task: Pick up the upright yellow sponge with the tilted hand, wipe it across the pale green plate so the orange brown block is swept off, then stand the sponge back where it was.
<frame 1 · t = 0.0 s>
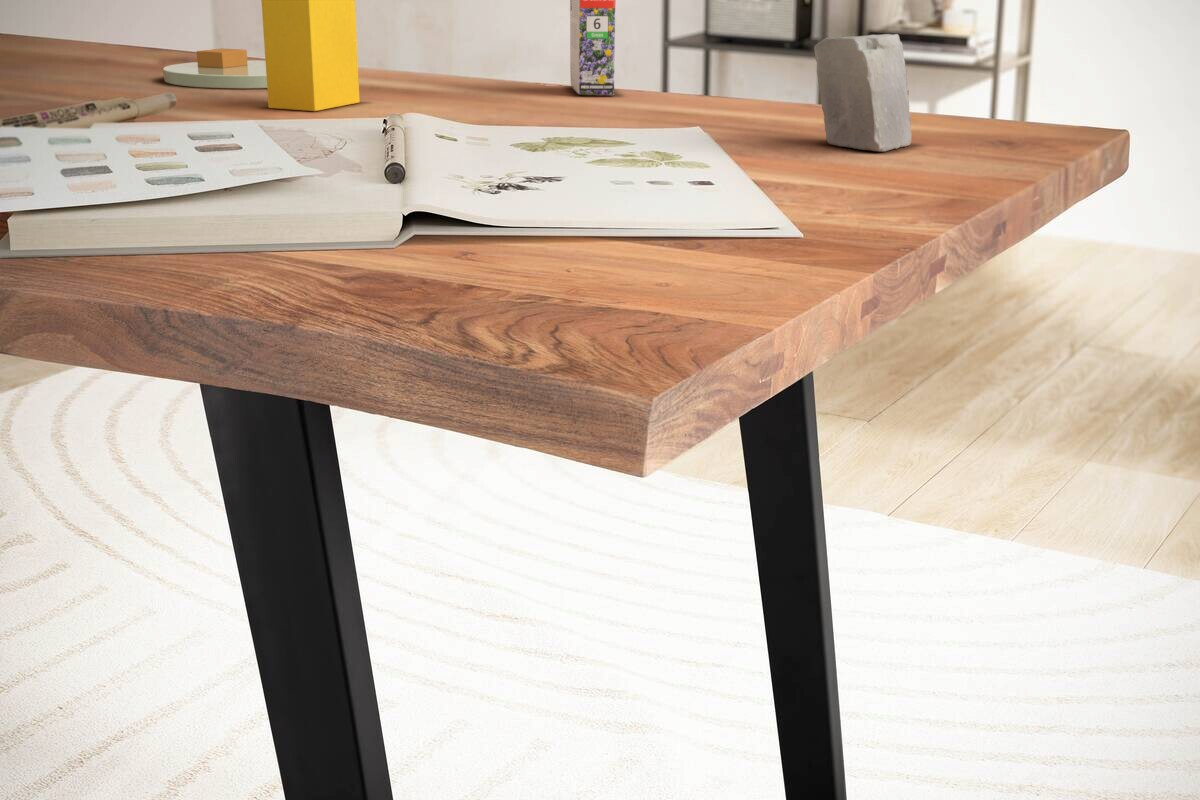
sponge: (315, 105, 108), on the table
ink box: (591, 93, 122), on the table
plate: (249, 80, 126), on the table
mineral specimen: (856, 146, 93), on the table
orange brown block: (222, 65, 126), point 1 cm above the table, touching plate
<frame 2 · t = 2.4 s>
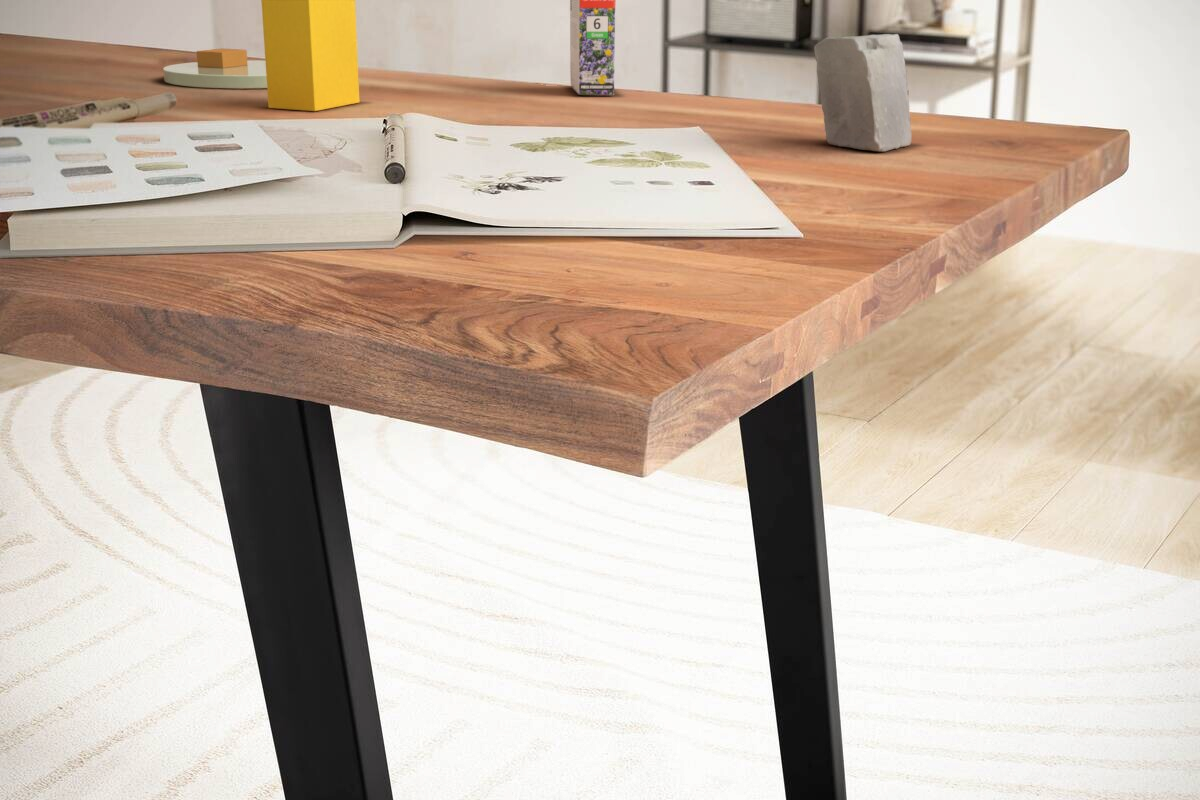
nothing on the table moved.
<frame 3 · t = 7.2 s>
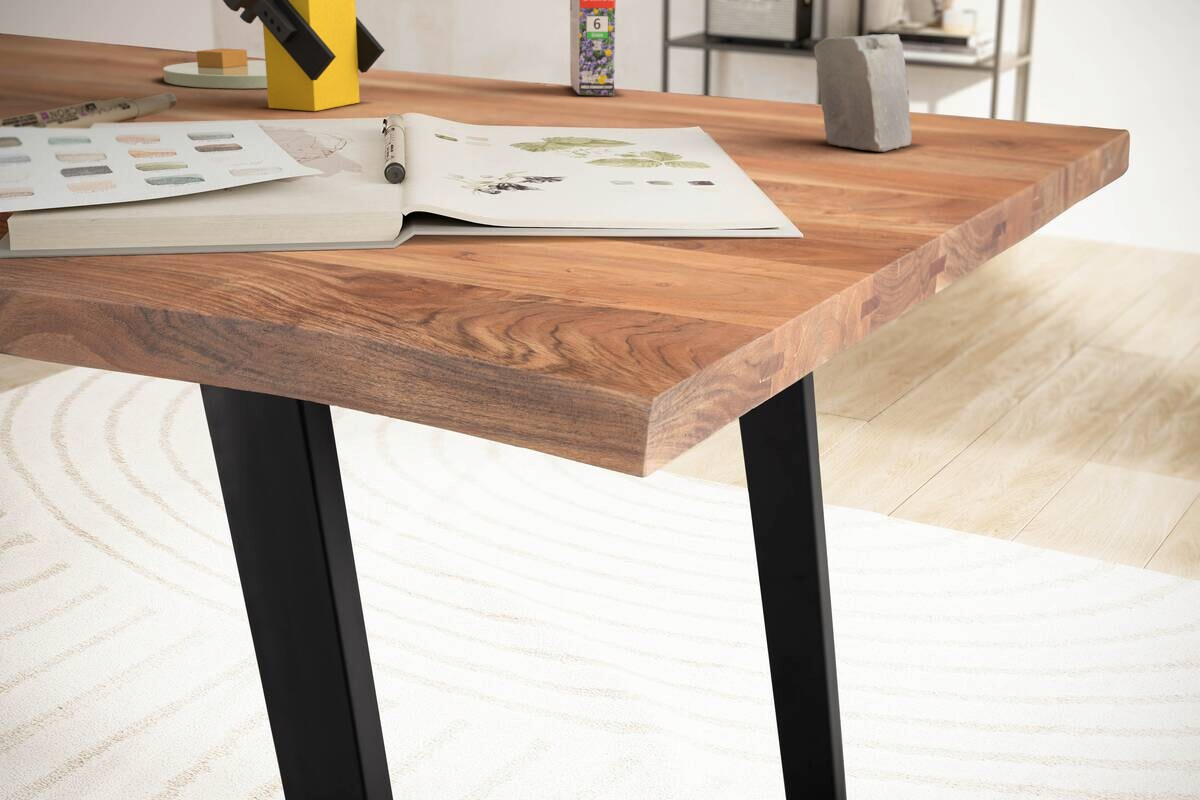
hand: (349, 64, 105), 4 cm above the table, tool tilted 45°, fingers closed on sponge, 7 cm apart
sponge: (315, 105, 108), on the table, touching gripper
everything else where it was.
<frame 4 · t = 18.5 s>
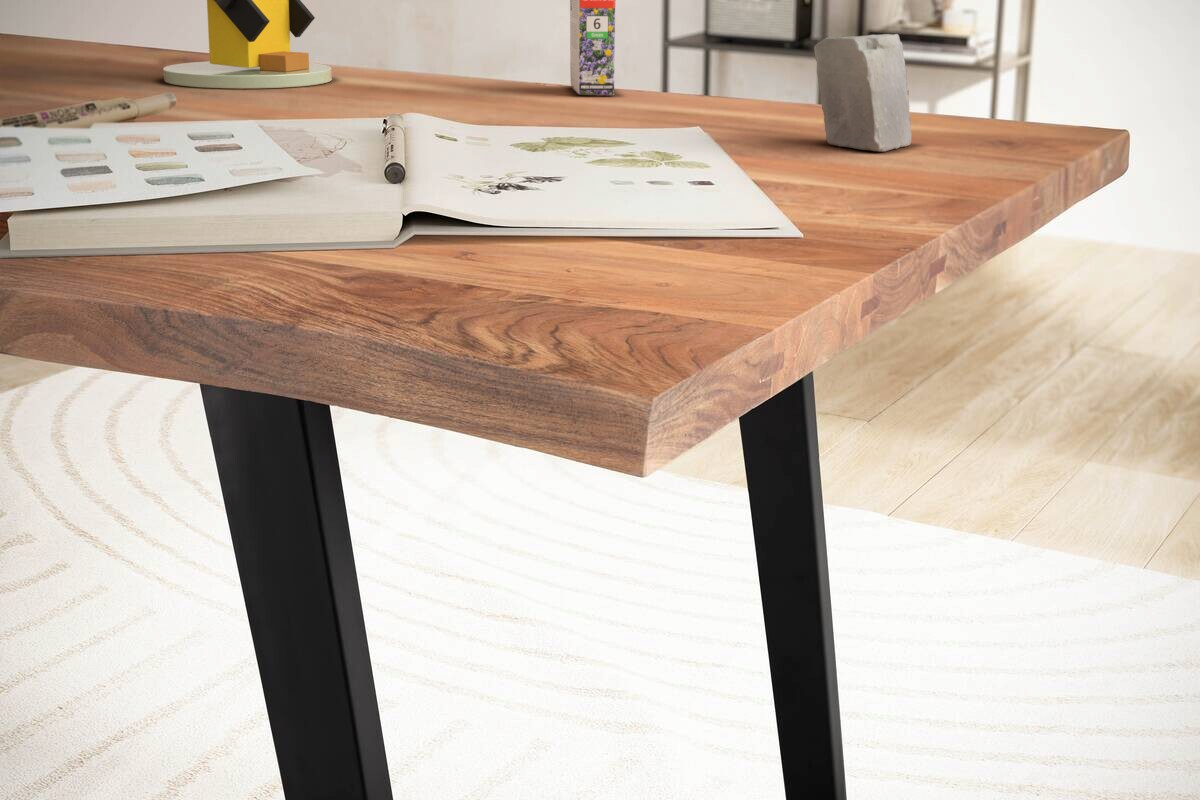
hand: (282, 29, 123), 5 cm above the table, tool tilted 45°, fingers closed on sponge, 7 cm apart
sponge: (250, 63, 125), point 2 cm above the table, touching gripper
orange brown block: (284, 69, 124), point 1 cm above the table
everything else where it was.
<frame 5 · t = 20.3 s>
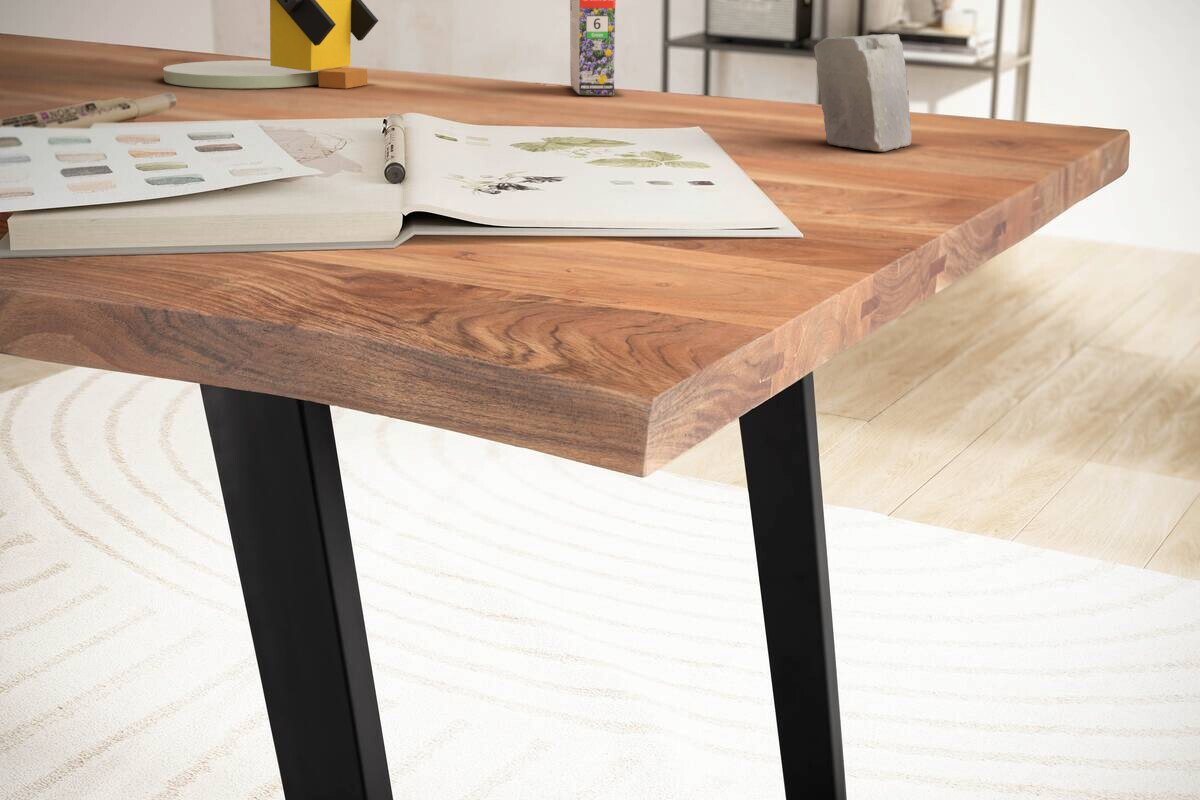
hand: (347, 32, 121), 5 cm above the table, tool tilted 45°, fingers closed on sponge, 7 cm apart
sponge: (311, 65, 123), point 2 cm above the table, touching gripper
orange brown block: (343, 85, 123), on the table
everything else where it was.
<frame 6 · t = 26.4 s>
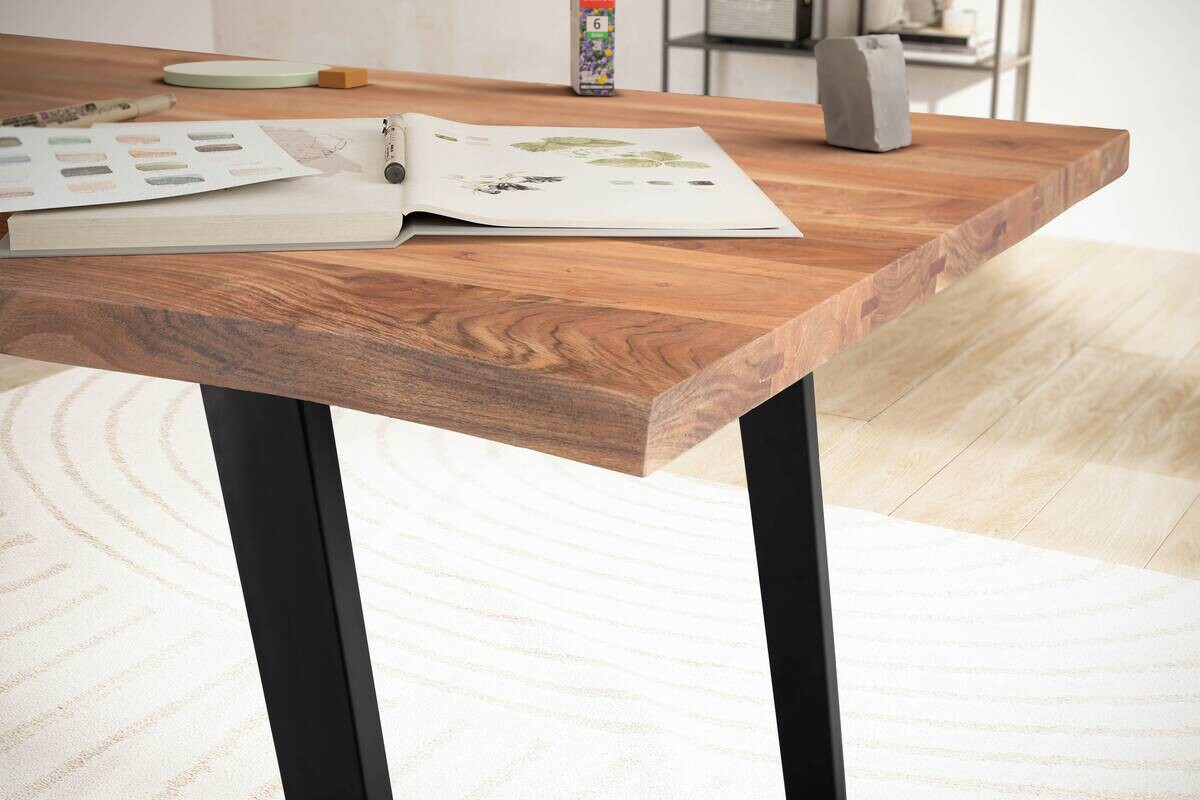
when the fingers open (3 cm above the table, at t = 31.5 s): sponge stays where it is, on the table.
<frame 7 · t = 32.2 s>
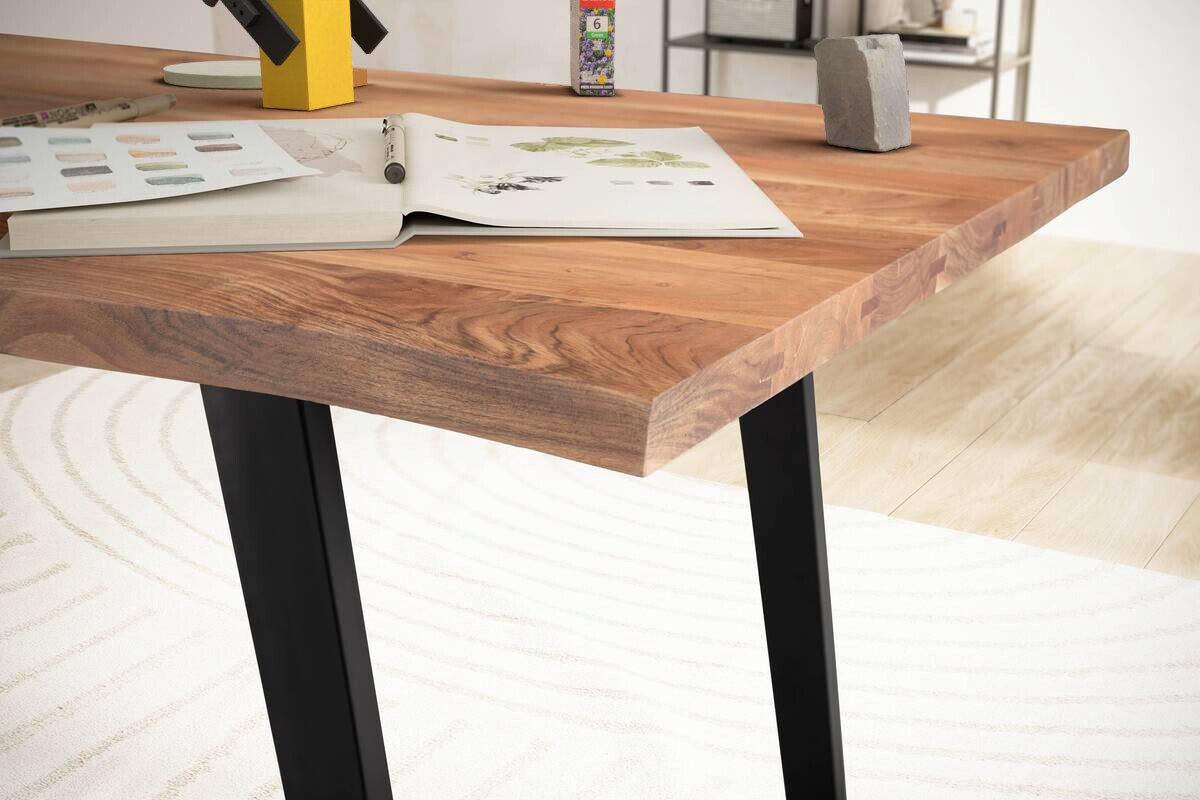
hand: (335, 48, 105), 5 cm above the table, tool tilted 45°, fingers open, 13 cm apart
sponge: (309, 104, 108), on the table
everything else where it was.
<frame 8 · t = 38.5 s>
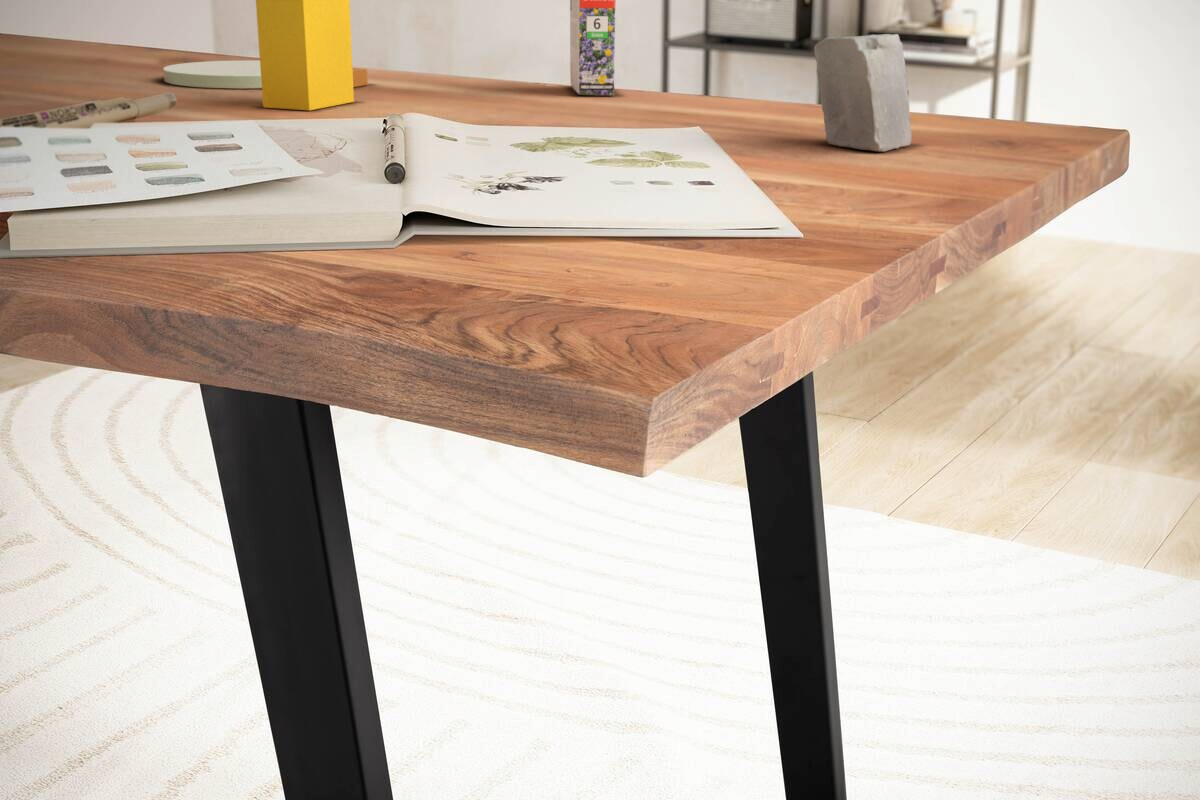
nothing on the table moved.
at the end: orange brown block on the table; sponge inside the target area (0.6 cm from its centre), on the table; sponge tilted 0° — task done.
